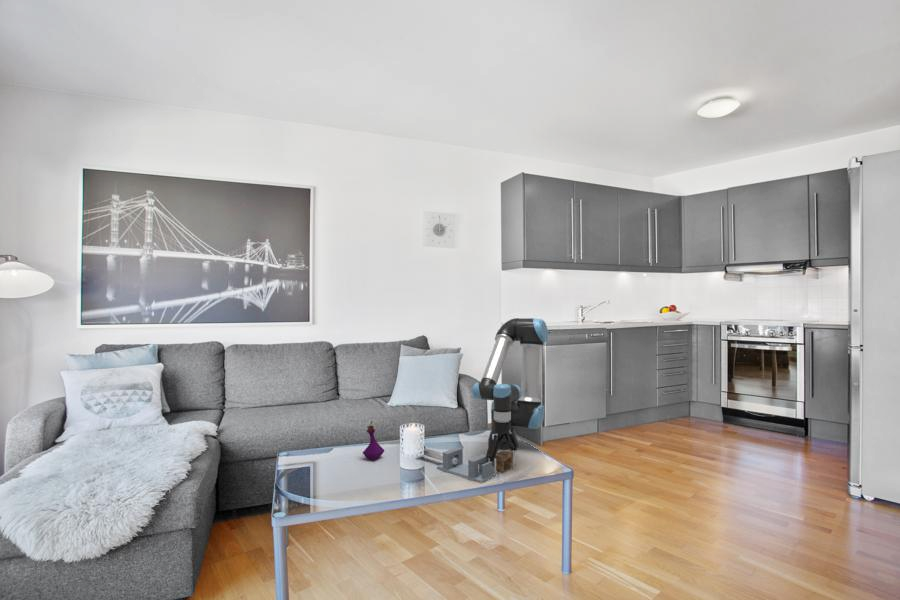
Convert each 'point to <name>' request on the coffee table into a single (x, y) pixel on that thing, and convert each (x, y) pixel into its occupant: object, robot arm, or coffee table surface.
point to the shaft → (438, 455)
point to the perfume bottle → (373, 445)
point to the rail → (467, 466)
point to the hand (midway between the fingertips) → (502, 469)
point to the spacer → (503, 460)
